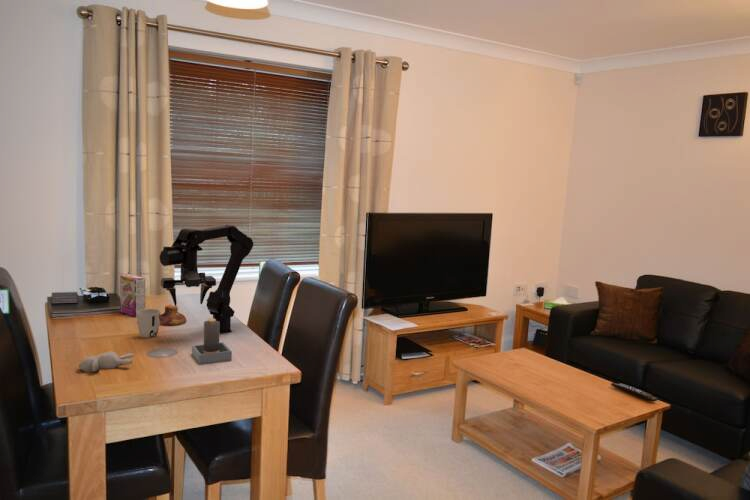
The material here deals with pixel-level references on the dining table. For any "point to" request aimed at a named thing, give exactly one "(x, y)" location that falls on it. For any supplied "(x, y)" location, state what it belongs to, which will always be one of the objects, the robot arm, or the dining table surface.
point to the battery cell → (211, 336)
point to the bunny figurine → (104, 361)
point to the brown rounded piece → (172, 317)
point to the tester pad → (162, 353)
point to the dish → (211, 354)
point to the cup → (148, 322)
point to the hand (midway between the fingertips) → (188, 304)
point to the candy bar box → (132, 294)
